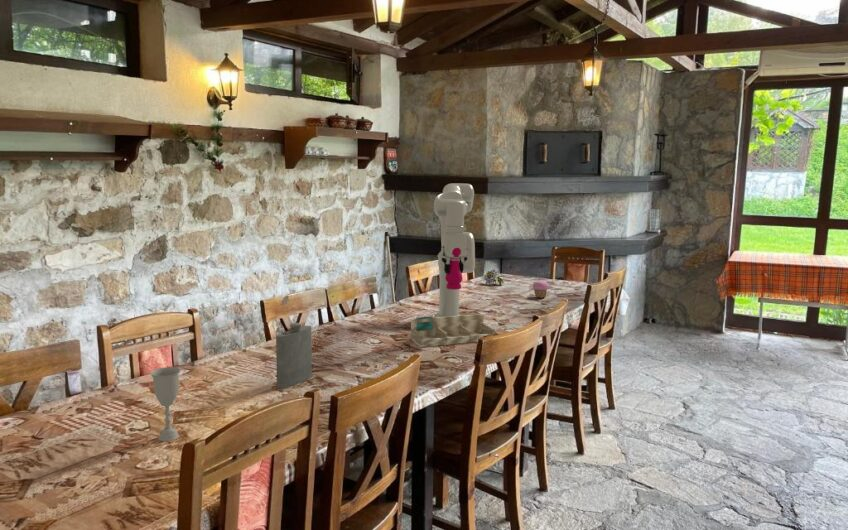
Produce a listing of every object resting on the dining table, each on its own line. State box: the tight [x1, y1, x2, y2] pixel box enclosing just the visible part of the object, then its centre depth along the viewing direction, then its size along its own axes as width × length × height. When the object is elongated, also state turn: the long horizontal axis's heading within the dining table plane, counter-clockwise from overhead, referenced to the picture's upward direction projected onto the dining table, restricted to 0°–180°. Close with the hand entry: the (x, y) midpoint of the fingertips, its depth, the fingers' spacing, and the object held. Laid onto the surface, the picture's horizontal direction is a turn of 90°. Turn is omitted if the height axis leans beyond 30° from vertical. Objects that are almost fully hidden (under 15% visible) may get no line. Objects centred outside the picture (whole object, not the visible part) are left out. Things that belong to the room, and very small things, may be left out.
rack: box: [410, 313, 496, 348], centre depth 265 cm, size 33×12×9 cm, turn 111°
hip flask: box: [275, 322, 313, 390], centre depth 210 cm, size 16×4×20 cm, turn 151°
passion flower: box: [481, 268, 505, 286], centre depth 395 cm, size 11×11×12 cm
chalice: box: [150, 366, 181, 442], centre depth 166 cm, size 7×7×18 cm
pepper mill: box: [445, 248, 463, 290], centre depth 267 cm, size 7×7×20 cm
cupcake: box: [532, 279, 550, 299], centre depth 357 cm, size 9×9×10 cm
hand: (453, 272), depth 267 cm, fingers closed on pepper mill, 5 cm apart
